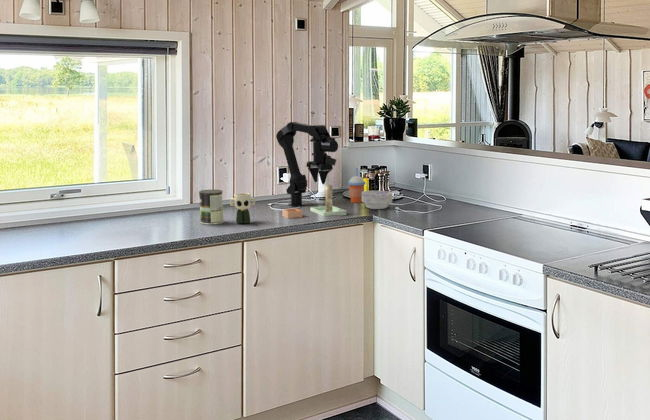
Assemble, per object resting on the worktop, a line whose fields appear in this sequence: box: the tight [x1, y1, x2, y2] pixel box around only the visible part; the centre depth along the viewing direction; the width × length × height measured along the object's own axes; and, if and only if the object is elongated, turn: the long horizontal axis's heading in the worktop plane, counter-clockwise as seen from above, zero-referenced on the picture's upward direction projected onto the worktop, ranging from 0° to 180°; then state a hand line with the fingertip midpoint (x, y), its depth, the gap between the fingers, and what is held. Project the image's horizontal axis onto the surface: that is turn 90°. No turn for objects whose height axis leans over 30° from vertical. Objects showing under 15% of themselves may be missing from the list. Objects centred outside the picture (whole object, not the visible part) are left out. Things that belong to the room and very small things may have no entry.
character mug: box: [229, 192, 256, 224], centre depth 278 cm, size 11×7×13 cm, turn 98°
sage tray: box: [309, 205, 347, 217], centre depth 300 cm, size 16×12×2 cm
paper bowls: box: [361, 190, 393, 210], centre depth 313 cm, size 15×15×8 cm
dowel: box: [325, 184, 333, 212], centre depth 298 cm, size 3×3×13 cm
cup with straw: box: [347, 167, 366, 204], centre depth 330 cm, size 9×9×18 cm
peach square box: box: [281, 207, 303, 219], centre depth 290 cm, size 7×7×4 cm
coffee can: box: [198, 189, 225, 226], centre depth 280 cm, size 10×10×14 cm
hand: (319, 183), depth 309 cm, fingers open, 9 cm apart
